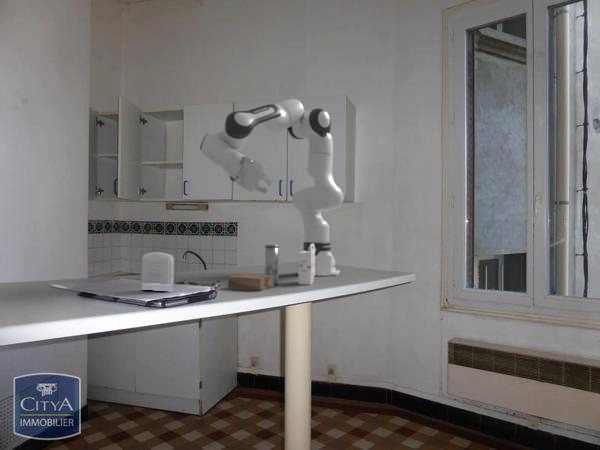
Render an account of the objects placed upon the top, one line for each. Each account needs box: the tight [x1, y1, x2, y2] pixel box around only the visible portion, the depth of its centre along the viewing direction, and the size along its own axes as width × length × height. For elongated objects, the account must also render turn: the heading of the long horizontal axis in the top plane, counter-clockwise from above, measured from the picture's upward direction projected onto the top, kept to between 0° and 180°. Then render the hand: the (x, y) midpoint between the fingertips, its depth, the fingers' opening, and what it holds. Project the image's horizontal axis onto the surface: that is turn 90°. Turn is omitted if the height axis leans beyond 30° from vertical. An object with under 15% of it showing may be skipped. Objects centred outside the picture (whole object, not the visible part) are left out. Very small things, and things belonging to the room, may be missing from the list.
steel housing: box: [264, 244, 280, 285], centre depth 160 cm, size 5×5×14 cm
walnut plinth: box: [227, 273, 275, 292], centre depth 145 cm, size 10×12×4 cm
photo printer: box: [140, 251, 175, 285], centre depth 136 cm, size 10×4×12 cm, turn 78°
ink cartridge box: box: [297, 244, 316, 286], centre depth 160 cm, size 9×5×15 cm, turn 168°
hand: (268, 188), depth 161 cm, fingers open, 8 cm apart
